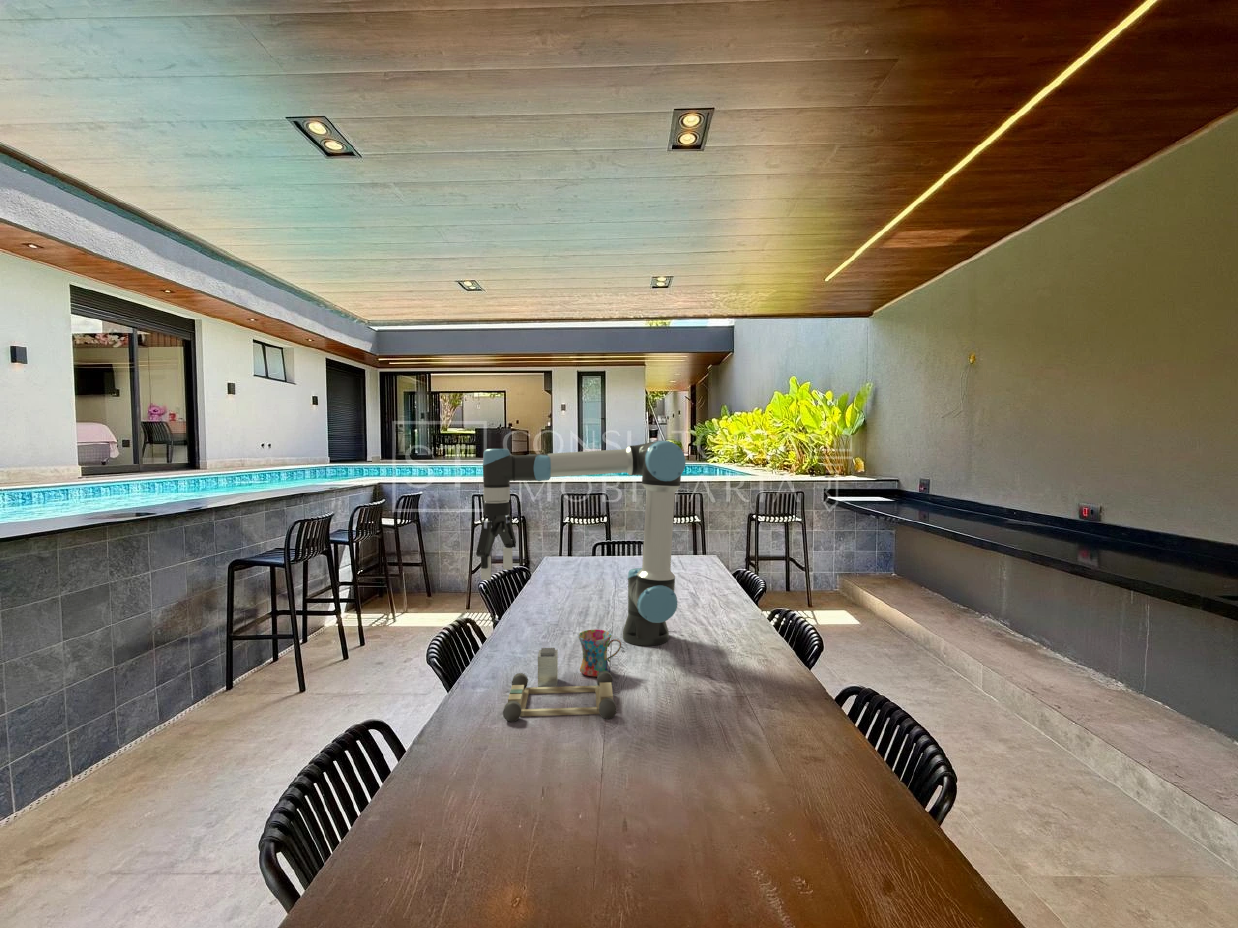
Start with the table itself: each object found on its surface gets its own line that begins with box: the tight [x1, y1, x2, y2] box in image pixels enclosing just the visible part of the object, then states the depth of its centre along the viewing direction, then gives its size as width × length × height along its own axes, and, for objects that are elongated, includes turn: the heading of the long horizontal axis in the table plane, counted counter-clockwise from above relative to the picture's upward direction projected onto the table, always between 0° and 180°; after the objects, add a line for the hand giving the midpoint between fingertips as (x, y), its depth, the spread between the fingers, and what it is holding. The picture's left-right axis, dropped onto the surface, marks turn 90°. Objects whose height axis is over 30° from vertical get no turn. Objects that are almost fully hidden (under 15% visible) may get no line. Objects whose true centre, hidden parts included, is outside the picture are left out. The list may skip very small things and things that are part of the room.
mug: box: [577, 629, 622, 677], centre depth 157 cm, size 12×9×11 cm
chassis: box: [502, 671, 617, 723], centre depth 139 cm, size 26×18×4 cm
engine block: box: [537, 647, 559, 687], centre depth 150 cm, size 5×5×9 cm
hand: (497, 574), depth 165 cm, fingers open, 13 cm apart
